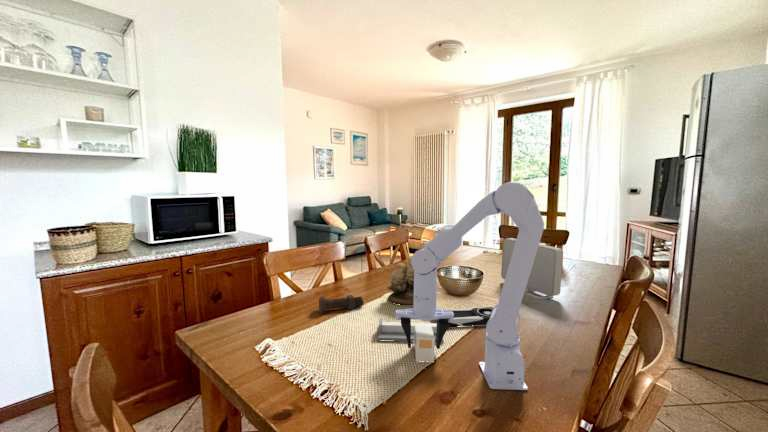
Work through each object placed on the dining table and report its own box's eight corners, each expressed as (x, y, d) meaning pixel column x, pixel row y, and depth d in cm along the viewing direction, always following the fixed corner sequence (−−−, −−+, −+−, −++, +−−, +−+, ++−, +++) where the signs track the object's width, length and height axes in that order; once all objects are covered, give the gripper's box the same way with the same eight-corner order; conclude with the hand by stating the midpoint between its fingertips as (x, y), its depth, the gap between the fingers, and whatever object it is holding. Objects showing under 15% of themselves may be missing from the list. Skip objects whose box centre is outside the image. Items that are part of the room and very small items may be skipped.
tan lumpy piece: (426, 292, 125) (428, 250, 123) (439, 303, 114) (441, 258, 112) (383, 295, 120) (384, 252, 118) (393, 308, 109) (394, 260, 107)
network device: (497, 282, 138) (499, 238, 136) (511, 280, 142) (514, 237, 140) (548, 303, 115) (552, 250, 113) (564, 299, 119) (568, 248, 116)
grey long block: (443, 343, 85) (443, 330, 85) (377, 341, 86) (378, 329, 85) (438, 327, 94) (438, 316, 94) (379, 326, 95) (379, 315, 94)
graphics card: (429, 307, 102) (500, 304, 106) (428, 317, 103) (499, 314, 106) (438, 321, 92) (516, 317, 96) (438, 332, 93) (516, 327, 96)
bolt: (362, 312, 109) (320, 316, 104) (359, 300, 113) (318, 304, 108) (366, 301, 106) (322, 305, 101) (362, 290, 110) (319, 293, 105)
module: (433, 363, 76) (434, 338, 75) (415, 362, 76) (416, 338, 75) (430, 345, 84) (430, 323, 83) (413, 345, 84) (414, 322, 83)
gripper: (396, 300, 75) (395, 354, 76) (457, 302, 74) (454, 355, 76) (396, 290, 82) (395, 339, 83) (451, 291, 81) (449, 341, 83)
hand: (423, 346), depth 80 cm, fingers open, 7 cm apart
